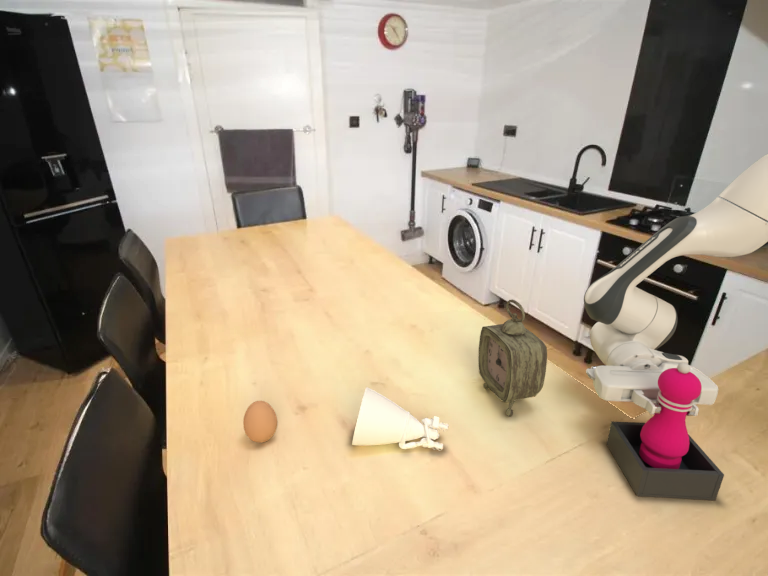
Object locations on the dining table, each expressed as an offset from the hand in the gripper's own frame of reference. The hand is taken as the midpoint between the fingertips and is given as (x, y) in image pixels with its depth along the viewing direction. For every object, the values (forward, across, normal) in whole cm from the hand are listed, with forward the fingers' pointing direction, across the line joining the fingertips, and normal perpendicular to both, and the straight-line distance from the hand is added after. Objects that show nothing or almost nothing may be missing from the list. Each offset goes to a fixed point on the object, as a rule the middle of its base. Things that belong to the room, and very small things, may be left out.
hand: (675, 412), depth 70 cm
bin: (-1, 0, +14) cm, 14 cm away
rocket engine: (-4, -48, +14) cm, 50 cm away
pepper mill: (-1, 0, +11) cm, 11 cm away
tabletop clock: (-21, -23, +14) cm, 34 cm away
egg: (-4, -76, +14) cm, 77 cm away
